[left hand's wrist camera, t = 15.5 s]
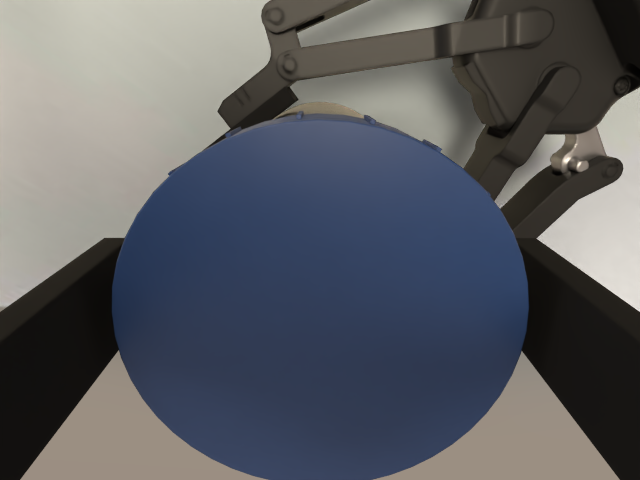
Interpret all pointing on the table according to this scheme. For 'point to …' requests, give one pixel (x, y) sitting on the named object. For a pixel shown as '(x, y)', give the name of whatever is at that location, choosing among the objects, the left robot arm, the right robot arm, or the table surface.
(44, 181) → the table surface
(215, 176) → the lid
